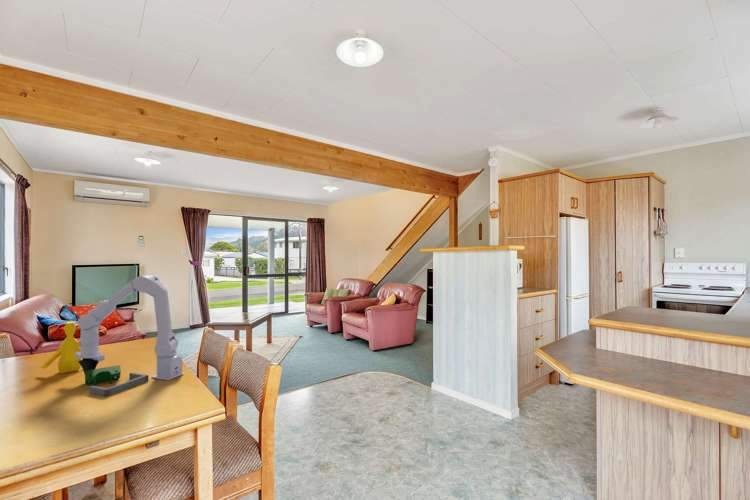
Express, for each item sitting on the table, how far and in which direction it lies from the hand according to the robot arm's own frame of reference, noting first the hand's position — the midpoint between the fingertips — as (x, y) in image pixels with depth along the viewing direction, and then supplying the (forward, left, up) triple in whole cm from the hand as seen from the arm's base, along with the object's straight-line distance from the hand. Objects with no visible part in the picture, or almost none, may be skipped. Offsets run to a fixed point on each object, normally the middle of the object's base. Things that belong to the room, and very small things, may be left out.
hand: (89, 376), depth 142 cm
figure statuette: (+21, -5, -2) cm, 22 cm away
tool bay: (-18, 0, -2) cm, 18 cm away
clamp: (-8, 0, -2) cm, 8 cm away
